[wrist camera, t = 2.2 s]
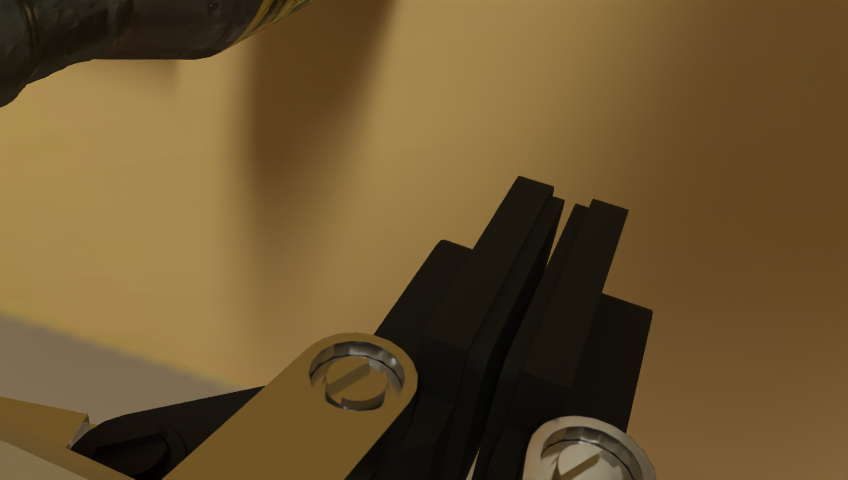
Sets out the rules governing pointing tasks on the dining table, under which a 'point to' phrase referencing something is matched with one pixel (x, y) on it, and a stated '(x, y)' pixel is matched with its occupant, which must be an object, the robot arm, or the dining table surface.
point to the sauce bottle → (121, 32)
